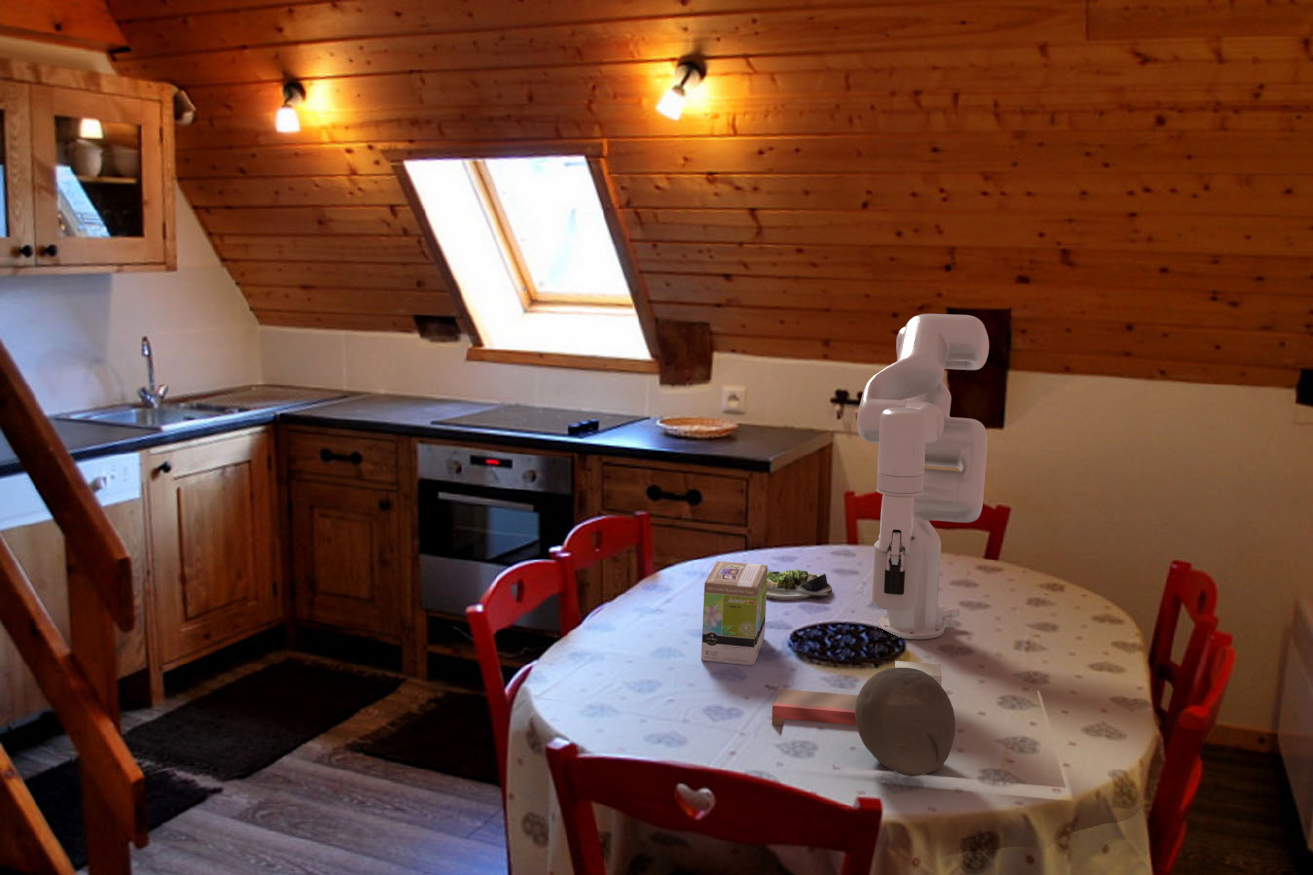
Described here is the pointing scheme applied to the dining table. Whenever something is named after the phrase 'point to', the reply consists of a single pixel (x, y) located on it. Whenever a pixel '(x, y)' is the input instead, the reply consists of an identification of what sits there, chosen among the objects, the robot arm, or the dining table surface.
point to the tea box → (734, 613)
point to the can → (910, 584)
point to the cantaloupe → (906, 720)
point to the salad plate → (797, 585)
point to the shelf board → (814, 707)
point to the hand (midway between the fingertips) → (895, 585)
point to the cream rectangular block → (923, 668)
